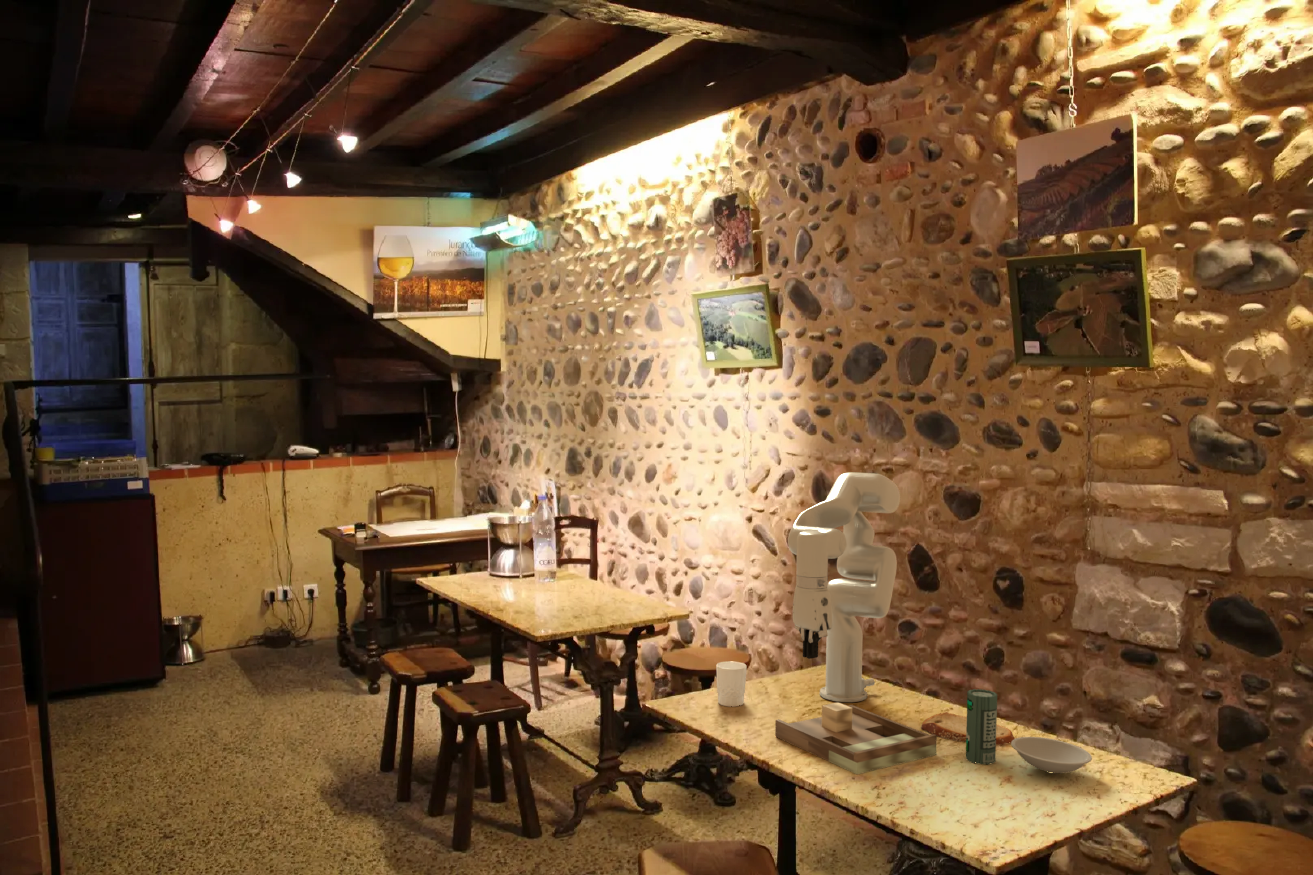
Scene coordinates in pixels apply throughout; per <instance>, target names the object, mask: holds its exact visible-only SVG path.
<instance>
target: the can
mask: <svg viewBox="0 0 1313 875" xmlns="http://www.w3.org/2000/svg"><path fill="white" fill-rule="evenodd" d="M966 695H967V697H966V717H967V726H966V742H965V760H966V761H968V762H971V763H973V762H974V764H977V763H980V765H991V764H990V763H992V764H995V763H996V758H997V757H996V753H997V749H996V748H997V744H996V724H997V720H998V719H997V717H998V715H997V714H998V693H996V692H995V691H992V690H986V689H979V688H978V689H975V688H973V689H969V690H968V691H967V693H966ZM975 762H976V763H975Z"/></svg>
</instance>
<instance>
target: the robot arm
mask: <svg viewBox="0 0 1313 875" xmlns="http://www.w3.org/2000/svg"><path fill="white" fill-rule="evenodd" d="M900 503H901V491H900V489H899V487H898V486H897V484H896V483H895V482H894V481H893V480H892V479H890V478H888V477H887V476H886V475H883V474H881V473H873V472H871V473H870V472H856V471H855V472H854V471H853V472H851V471H850V472H845V473H842V474H840V475H839V476H838V477H837V478H836V479H835V480H834V483H833V485H832V487H831V489H830V491H829V492H828V494H827V497H826V498H825V500H824V501H821V502H819V503H817V504H815V505H813V506H811V507H809V508H806V510H803V511H802V512H800V514H799V515H798V516H797V517H796V519H795V521H794V522H793V524H792V526H791V528H790V531H789V533H788V538H787V546H788V549H789V551H790V552H791V553H792V554H793V555H795V556H796V572H795V573H796V574H795V575H796V576H795V581H796V582H795V588H794V592H793V602H792V622H793V624H794V629H795V630H796V631H798V632H799V634H800V639H801V641H802V657H803V658H806V659H809V660H810V659H818V657H819V642H821V639H822V638H825V637H826V643H825V644H826V647H825V648H826V650H825V653H826V654H825V657H826V658H825V686H823V687H821V688H820V689H819V696H820V697H821V698H823V699H826V700H827V701H828V700H829V701H833V702H836V703H858V702H862V701H864V700H867V698H868V692H867V691H866V690H865V689H866V688H867V687H872V686H875V683H876V681H875V679H874V678H872V677H871V678H867V679H866V678H863V640H864V639H863V638H864V637H863V636H864V635H863V629H862V626H861V624H860V622H859V621H858V620H857V618H856V617H861V618H869V619H882V618H885V617H886V616H887V615H888V612H889V610H890V606H891V601H892V595H893V592H894V586H895V582H896V581H895V580H896V574H897V570H898V569H897V566H898V564H897V562H898V561H897V560H898V559H897V555H896V552H895V551H894V550H893V548H891V547H889V546H886V545H885V546H884V545H873V544H874V538H875V529H874V527H873V525H872V524H871V522H870V521H869V520H868V518H867V517H866V516H865V515H864V514H863V512H865V513H877V514H879V513H880V514H893V513H894V512H896V511H897V510H898V508H899V506H900ZM842 526H843V528H842V530H843V531H841V530H840V529H839V527H842ZM829 559H830V560H831V559H837V560H836V570H837V573H838V574H839V575H840V576H842V577H844V578H835V579H832V580H829V581H828V579H829V578H828V575H829V574H828V571H829V569H828V568H829V564H828V563H829Z"/></svg>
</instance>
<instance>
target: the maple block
mask: <svg viewBox="0 0 1313 875" xmlns="http://www.w3.org/2000/svg"><path fill="white" fill-rule="evenodd" d="M821 717H822V727H824V728H827V729H829V730H831V731H834V732H840V731H845V730H849V729H852V708H851V707H849V705H846V704H843V703H842V702H832V703H828V704H823V705H821Z"/></svg>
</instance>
